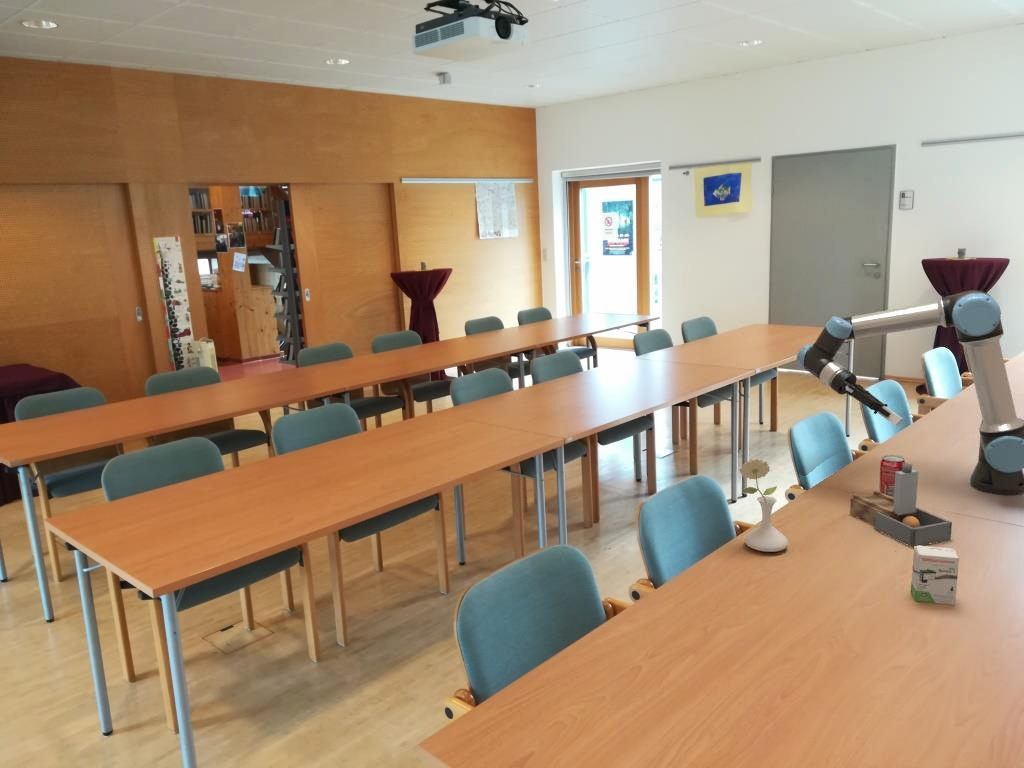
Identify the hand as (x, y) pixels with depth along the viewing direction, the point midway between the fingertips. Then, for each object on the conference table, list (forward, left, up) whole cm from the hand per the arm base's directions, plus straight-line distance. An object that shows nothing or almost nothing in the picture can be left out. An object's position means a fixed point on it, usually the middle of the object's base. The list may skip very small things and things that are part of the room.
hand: (899, 422), depth 224 cm
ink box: (+5, +57, -27) cm, 64 cm away
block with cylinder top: (+2, +17, -22) cm, 28 cm away
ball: (0, +19, -24) cm, 31 cm away
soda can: (-1, -10, -27) cm, 29 cm away
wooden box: (+5, +10, -27) cm, 29 cm away
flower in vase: (+41, +33, -27) cm, 59 cm away
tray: (0, +20, -27) cm, 33 cm away
